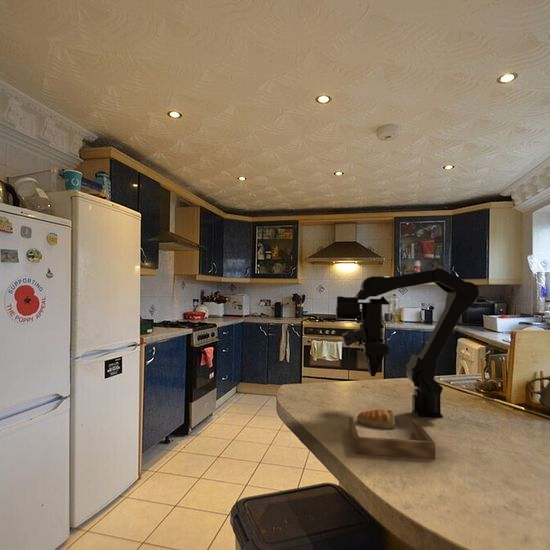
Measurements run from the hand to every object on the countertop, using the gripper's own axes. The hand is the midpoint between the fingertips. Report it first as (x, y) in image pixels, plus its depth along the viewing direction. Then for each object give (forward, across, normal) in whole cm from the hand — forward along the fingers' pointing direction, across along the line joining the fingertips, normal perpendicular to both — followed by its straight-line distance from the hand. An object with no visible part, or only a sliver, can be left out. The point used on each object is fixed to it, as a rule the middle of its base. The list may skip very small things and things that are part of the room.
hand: (372, 375), depth 102 cm
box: (+10, +22, 0) cm, 24 cm away
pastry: (+10, +10, 0) cm, 15 cm away
